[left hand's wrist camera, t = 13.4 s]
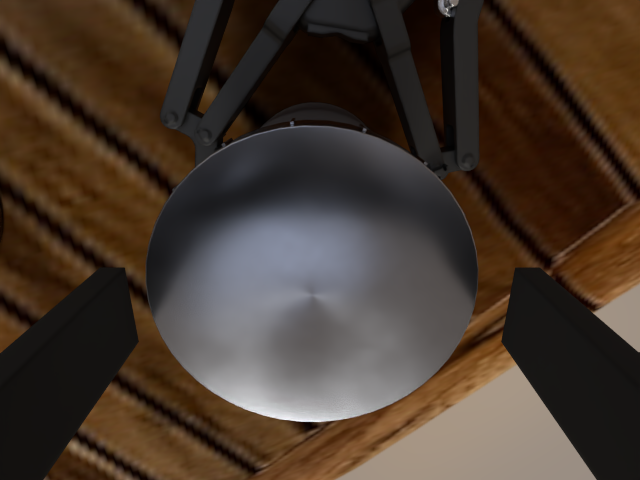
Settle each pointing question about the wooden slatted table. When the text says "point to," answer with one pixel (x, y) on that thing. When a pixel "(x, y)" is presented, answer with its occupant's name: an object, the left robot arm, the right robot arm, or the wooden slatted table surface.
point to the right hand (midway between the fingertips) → (305, 260)
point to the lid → (311, 271)
